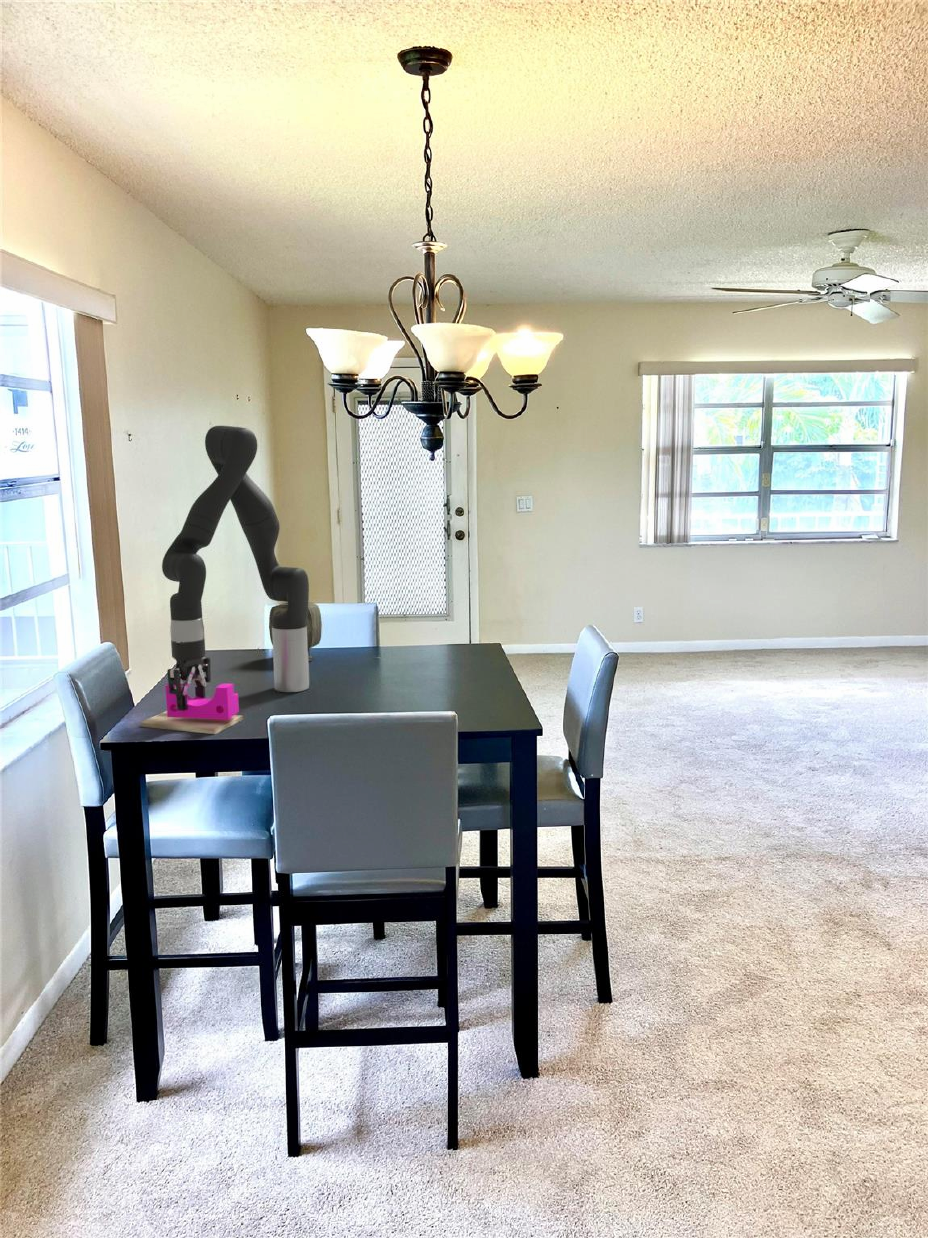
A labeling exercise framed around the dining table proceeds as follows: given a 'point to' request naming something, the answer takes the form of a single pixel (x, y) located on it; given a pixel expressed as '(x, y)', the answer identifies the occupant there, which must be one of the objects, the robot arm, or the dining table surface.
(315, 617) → the tabletop clock
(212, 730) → the oak board
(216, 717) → the magenta cradle block
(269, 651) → the dining table surface
